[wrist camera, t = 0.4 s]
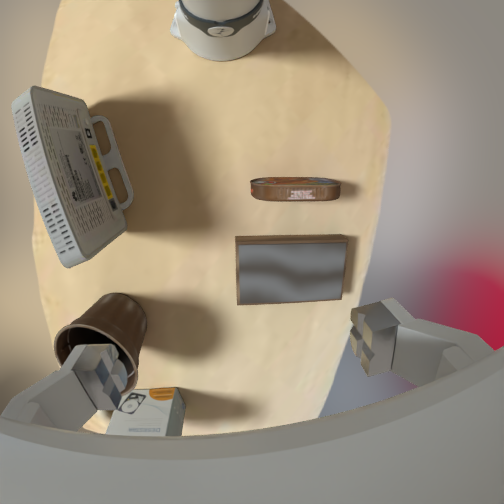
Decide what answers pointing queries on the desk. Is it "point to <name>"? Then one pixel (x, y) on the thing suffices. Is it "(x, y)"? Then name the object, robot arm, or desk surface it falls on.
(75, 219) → the network device
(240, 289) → the plinth
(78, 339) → the plant pot
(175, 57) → the desk surface
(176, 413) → the hard drive box
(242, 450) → the robot arm
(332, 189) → the tin
